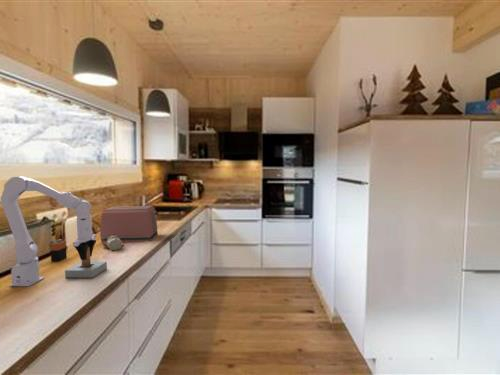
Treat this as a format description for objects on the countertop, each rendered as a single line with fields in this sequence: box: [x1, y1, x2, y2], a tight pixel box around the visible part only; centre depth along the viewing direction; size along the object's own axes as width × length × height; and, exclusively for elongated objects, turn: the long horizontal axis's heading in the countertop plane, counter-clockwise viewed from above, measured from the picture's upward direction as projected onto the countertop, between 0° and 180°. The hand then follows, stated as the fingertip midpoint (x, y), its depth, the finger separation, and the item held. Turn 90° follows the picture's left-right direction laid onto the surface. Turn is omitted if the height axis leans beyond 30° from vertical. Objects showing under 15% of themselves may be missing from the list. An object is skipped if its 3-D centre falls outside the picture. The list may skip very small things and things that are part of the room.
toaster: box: [99, 205, 159, 244], centre depth 205 cm, size 19×34×20 cm, turn 93°
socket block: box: [64, 261, 108, 280], centre depth 140 cm, size 12×12×4 cm
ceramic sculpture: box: [102, 234, 123, 251], centre depth 182 cm, size 11×9×15 cm
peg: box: [81, 247, 92, 267], centre depth 140 cm, size 4×4×8 cm
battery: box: [49, 238, 67, 262], centre depth 162 cm, size 4×7×10 cm, turn 0°
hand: (86, 258), depth 140 cm, fingers closed on peg, 3 cm apart
